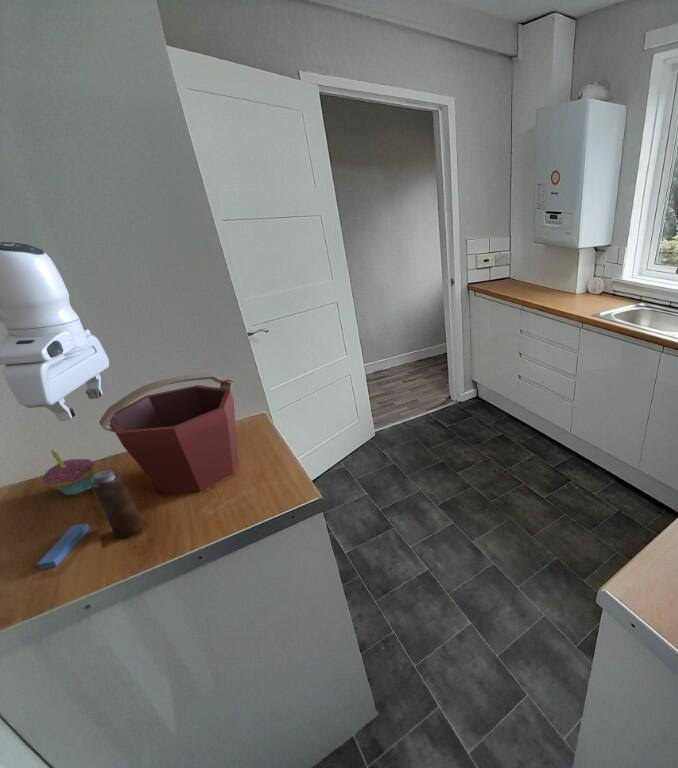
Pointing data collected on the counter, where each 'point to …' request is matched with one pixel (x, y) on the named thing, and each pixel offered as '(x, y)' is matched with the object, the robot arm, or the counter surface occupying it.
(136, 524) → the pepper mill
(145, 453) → the bucket
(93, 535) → the counter surface
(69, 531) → the blue stick
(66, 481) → the cupcake
